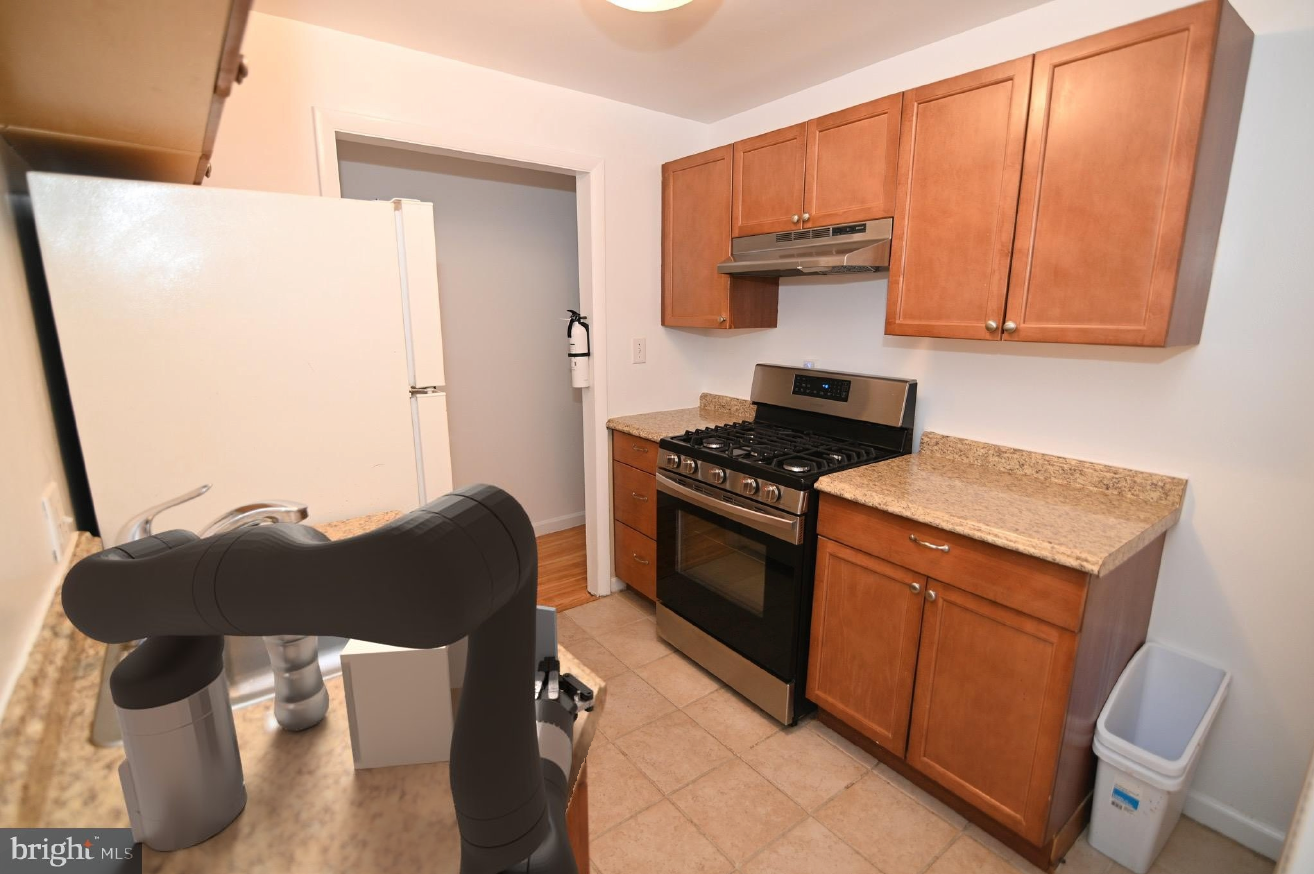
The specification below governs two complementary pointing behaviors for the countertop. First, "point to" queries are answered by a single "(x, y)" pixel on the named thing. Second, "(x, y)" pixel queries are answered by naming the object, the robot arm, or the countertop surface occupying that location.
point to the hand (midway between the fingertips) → (549, 662)
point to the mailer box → (401, 701)
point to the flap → (546, 634)
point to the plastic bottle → (297, 681)
